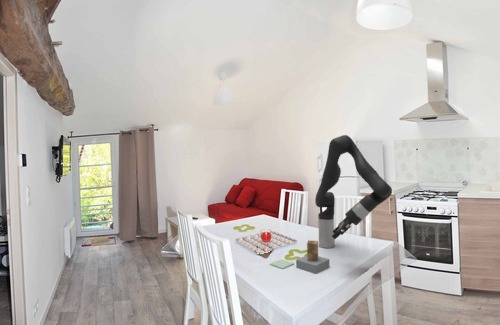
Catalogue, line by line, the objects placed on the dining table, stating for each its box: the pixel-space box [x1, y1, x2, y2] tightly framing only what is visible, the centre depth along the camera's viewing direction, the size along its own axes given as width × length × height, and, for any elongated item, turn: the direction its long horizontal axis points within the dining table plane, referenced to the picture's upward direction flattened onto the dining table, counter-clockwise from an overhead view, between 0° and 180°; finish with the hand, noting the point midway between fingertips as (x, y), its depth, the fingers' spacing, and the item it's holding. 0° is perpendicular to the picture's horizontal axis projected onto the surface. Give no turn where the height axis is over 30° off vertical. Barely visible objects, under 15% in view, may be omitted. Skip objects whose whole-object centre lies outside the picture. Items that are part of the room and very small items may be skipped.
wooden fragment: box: [256, 250, 273, 259], centre depth 193 cm, size 26×11×1 cm, turn 176°
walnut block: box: [306, 239, 319, 261], centre depth 165 cm, size 5×5×9 cm
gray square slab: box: [295, 255, 331, 275], centre depth 165 cm, size 12×12×4 cm
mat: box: [269, 258, 295, 270], centre depth 170 cm, size 9×9×1 cm
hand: (333, 235), depth 162 cm, fingers open, 8 cm apart
